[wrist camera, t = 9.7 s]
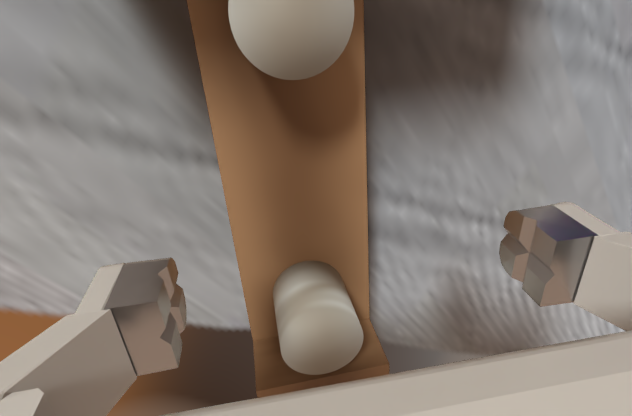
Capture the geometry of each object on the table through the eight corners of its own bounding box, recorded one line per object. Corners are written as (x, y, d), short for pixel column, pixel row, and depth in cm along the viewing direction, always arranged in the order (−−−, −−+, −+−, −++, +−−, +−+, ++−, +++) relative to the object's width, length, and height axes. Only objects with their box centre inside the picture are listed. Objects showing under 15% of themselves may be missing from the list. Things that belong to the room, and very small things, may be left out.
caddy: (333, -91, 16) (402, -159, 10) (350, 287, 25) (392, 388, 18) (180, -83, 16) (141, -151, 9) (252, 304, 24) (260, 416, 17)
